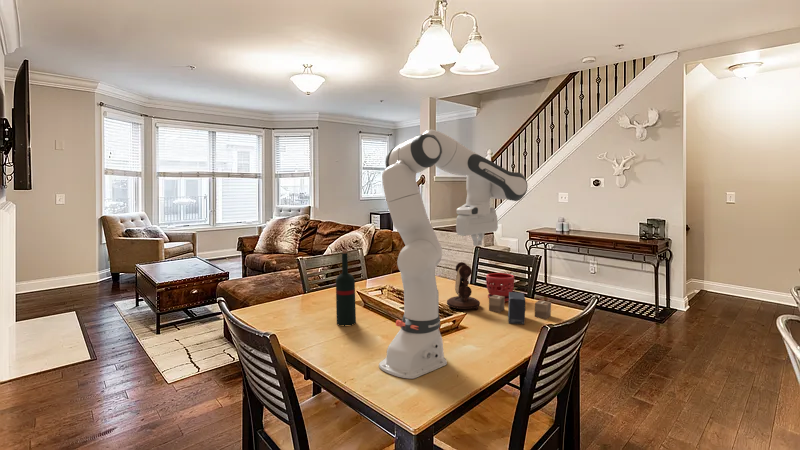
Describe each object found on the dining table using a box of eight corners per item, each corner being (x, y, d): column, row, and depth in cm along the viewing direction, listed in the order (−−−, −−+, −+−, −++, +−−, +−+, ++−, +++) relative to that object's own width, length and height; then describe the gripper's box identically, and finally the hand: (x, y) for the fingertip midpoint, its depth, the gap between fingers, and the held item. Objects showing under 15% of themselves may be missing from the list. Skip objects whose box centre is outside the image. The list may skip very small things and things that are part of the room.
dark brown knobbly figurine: (443, 302, 195) (444, 261, 192) (474, 301, 196) (475, 260, 194) (450, 312, 180) (451, 267, 178) (483, 311, 181) (484, 266, 179)
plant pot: (519, 300, 197) (520, 276, 196) (499, 305, 191) (499, 279, 189) (500, 294, 208) (500, 270, 207) (480, 298, 202) (480, 274, 200)
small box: (525, 325, 165) (526, 299, 163) (508, 323, 166) (509, 298, 165) (523, 316, 175) (524, 292, 174) (507, 315, 176) (508, 291, 175)
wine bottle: (358, 317, 175) (356, 247, 171) (354, 326, 164) (352, 251, 161) (339, 317, 175) (337, 247, 171) (334, 326, 165) (332, 251, 161)
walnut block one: (546, 319, 171) (546, 304, 170) (534, 316, 174) (535, 302, 174) (550, 316, 175) (551, 301, 174) (538, 313, 178) (539, 299, 177)
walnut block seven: (499, 312, 180) (499, 298, 179) (488, 310, 183) (489, 296, 182) (504, 309, 184) (504, 296, 183) (493, 307, 187) (494, 294, 186)
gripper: (488, 206, 162) (488, 241, 164) (453, 209, 149) (453, 247, 151) (502, 207, 157) (501, 243, 159) (466, 210, 144) (466, 249, 146)
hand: (477, 245), depth 155 cm, fingers closed
